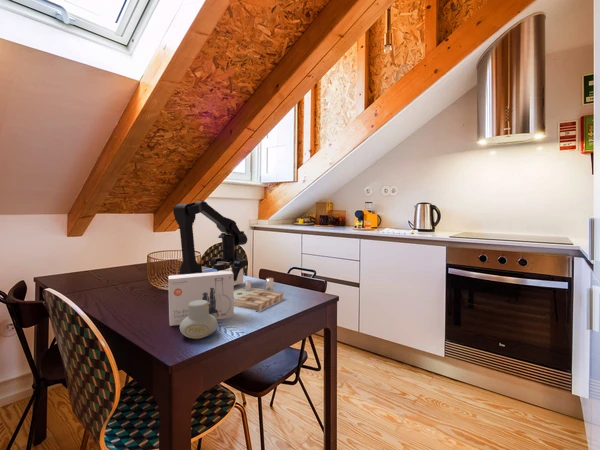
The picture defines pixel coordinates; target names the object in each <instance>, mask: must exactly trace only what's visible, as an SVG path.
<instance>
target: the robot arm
mask: <svg viewBox="0 0 600 450" xmlns="http://www.w3.org/2000/svg"><path fill="white" fill-rule="evenodd" d="M172 211H173V212H172V213H173V216H174V221H176V224H177V225H178V227H179V234H180V244H181V253H182V256H181V257H182V262H181V265H180V268H179V274H178V275H184V274H196V273H204V272H203V268H202V267H203V265H202V263H201V262H198V261H197V260H196V251H195V249H196V248H195V241H194V239H195V238H194V230H193V229H194V227H193V225H194V223H195V221H196V215H197V214H202V215H203V216H204V217H206V218H207V219H209V220H210V221H212V222H213V223H214V224H215V225H216V228H217V229H218V230H219V231H220V232H221V233H220V235H218V237H217V238H218V239H221V249H220V250H219V251H220V253H222V254H221V255H222V256H216V257H211V258H210V261H209V264H210V265H212V266H213V267H214V268H215V269H216V270H217V271H221V270H225V269H226V266H227V265H233V267H231V268H232V272H233V274H234V281H236V280H237V277H238V274H239V271H240V269H243V268H245V267H248V266H249V261H248V260H247V259H244V253H242V252H238V250H237V248H235V247H237V246H245V245H246V244H247V243H248V237H247V235H246V234H245V232H244V230H240V229H239V227H238V225H237V222H236V221H235V220H233V219H232V218H230V217H229V218H228V217H225V216H223V215H222V214H221V213H220V212H219V211H217V210H216V209H214V208H213V207H212V206H210V204H208V202H206V201H205V200H197V201H194V202H189V203H178V204H175V206H174V207H173V209H172ZM217 271H216V272H217Z"/></svg>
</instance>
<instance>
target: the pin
mask: <svg viewBox="0 0 600 450" xmlns="http://www.w3.org/2000/svg"><path fill="white" fill-rule="evenodd" d="M265 290H266V291H272V292H274V278H273V277H266V278H265Z"/></svg>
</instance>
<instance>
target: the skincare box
mask: <svg viewBox="0 0 600 450" xmlns="http://www.w3.org/2000/svg"><path fill="white" fill-rule="evenodd" d="M167 277H168V319H169V320H168V321H169V326H170V327H172V326H173V327H174V326H180V324H181V322H182V321H183V320H184V319H185V318H186V317H188V304H189V303H190V302H192V301H196V300H206V301H208V303H209V314H210V315H212V316H214V317H215V318H216V319H217V320H222V319H223V320H224V319H230V318H234V317H235V309H234V307H235V306H234V300H235V299H234V298H235V297H234V291H235V289H234V288H235V287H234V286H235V285H234V274H233V272H232V271H220V272H217V271H210V272H209V271H208V272H203V273H196V274H184V275H179V274H173V275H168V276H167Z"/></svg>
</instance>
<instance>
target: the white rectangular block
mask: <svg viewBox="0 0 600 450" xmlns="http://www.w3.org/2000/svg"><path fill="white" fill-rule="evenodd" d="M221 271H232V267H229V268H225V270H221ZM216 272H220V271H216ZM243 283H244V269H243V268H241V269H240V271H239V274H238V277H237V280H236V281H234V286H237V285H240V284H243Z"/></svg>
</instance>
